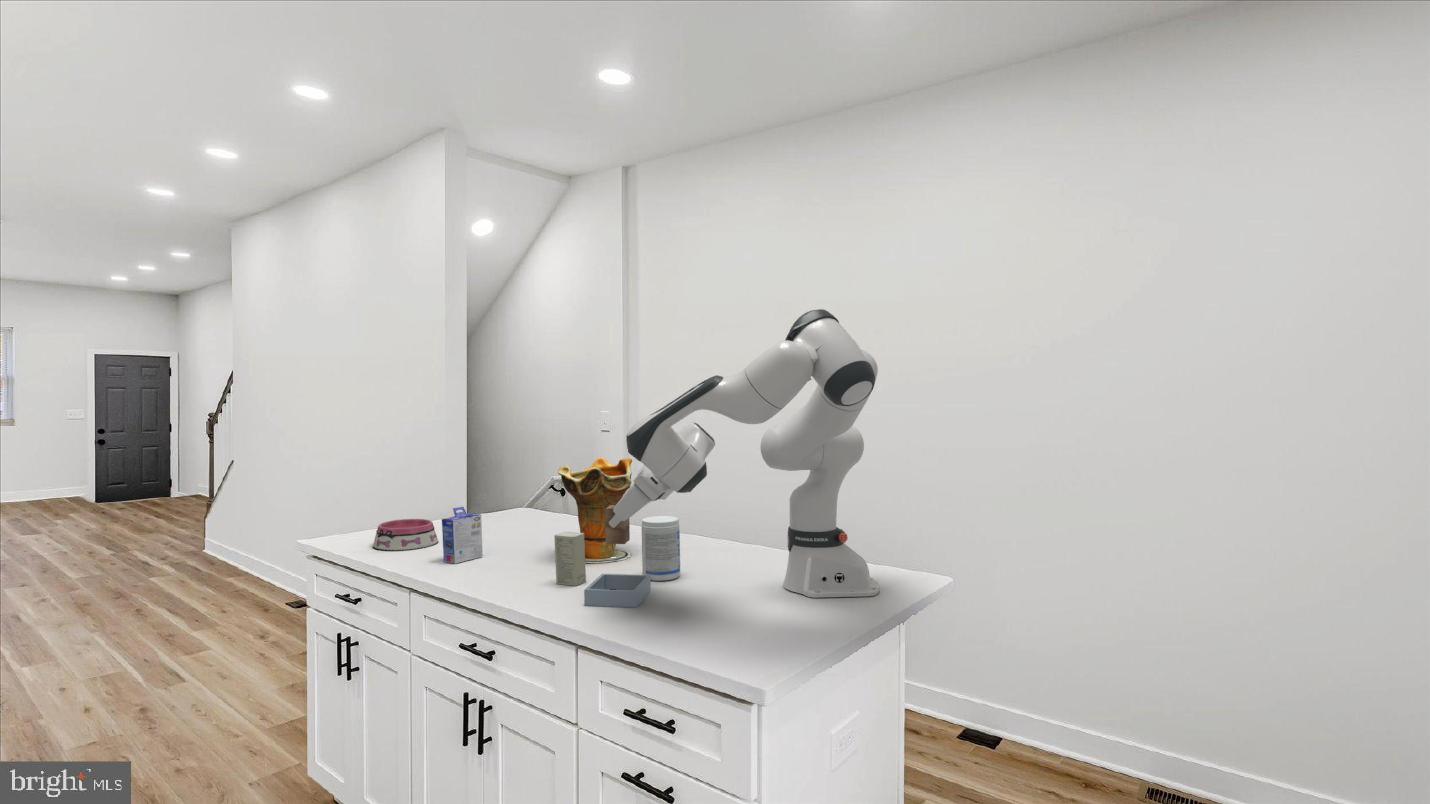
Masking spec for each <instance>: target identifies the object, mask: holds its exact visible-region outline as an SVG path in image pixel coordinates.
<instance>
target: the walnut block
mask: <svg viewBox="0 0 1430 804" xmlns="http://www.w3.org/2000/svg"><path fill="white" fill-rule="evenodd" d="M615 506H616V505H610V506H609V507H607V508H605V526H606V544H616V545H626V544H627V543H628V542H629V541H630V539H631V537H630V534H631V533H630V518H629V519H627V520H626V521H621V522H620V523H619V524H618V525H617V526H616V527H614V528H612V527H611V526H610V525H609V521H610V520H611V519H612V518H613V517H614V516H615V513H614V512H613V509H614V508H615Z"/></svg>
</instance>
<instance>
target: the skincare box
mask: <svg viewBox="0 0 1430 804" xmlns="http://www.w3.org/2000/svg"><path fill="white" fill-rule="evenodd" d="M553 537H554V555H555V556H554V557H555V558H554V559H555V581H556V584H557V585H564V586H565V585H566V586H575V587H577V586H579V585H581V584H584V583H585V582H586V581H587V574H586V572H587V571H586V562H585V544H584V533H580V532H573V531H572V532H571V531H562V532H559V533H556V534H554V535H553Z"/></svg>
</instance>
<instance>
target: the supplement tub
mask: <svg viewBox="0 0 1430 804" xmlns="http://www.w3.org/2000/svg"><path fill="white" fill-rule="evenodd" d="M679 522H680V520H679V518H678V517H676V516H672V515H671V516H670V515H658V516H657V515H656V516H654V515H653V516H647V517H644V518H642V520H641V554H642V555H641V561H642V562H641V564H642V565H641V566H642V575H650V581H653V582H654V581H655V582H661V581H662V582H663V581H671V580H675V579H677V578H679V576H680V575H681V546H680V545H681V544H680V543H681V540H680V538H681V537H680V535H681V534H680V532H681V531H680V523H679Z"/></svg>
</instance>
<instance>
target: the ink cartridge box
mask: <svg viewBox="0 0 1430 804" xmlns="http://www.w3.org/2000/svg"><path fill="white" fill-rule="evenodd" d="M452 511H453V514H454V516H449V517H445V518H441V531H442V549H443V550H442V551H443V552H442V554H443V555H442V556H443V562H444V563H448V564H453V565H454V564H455V565H456V564H459V563H463V562H467V561H471V560H474V559H478V558H483V556H484V554H483V553H484V552H483V529H482V528H483V527H482V514H481V513H474V512H469V513H468V512H466V509H465V508H464V506H460V507H459V506H458V507H453V508H452ZM457 511H460V512H457Z"/></svg>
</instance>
